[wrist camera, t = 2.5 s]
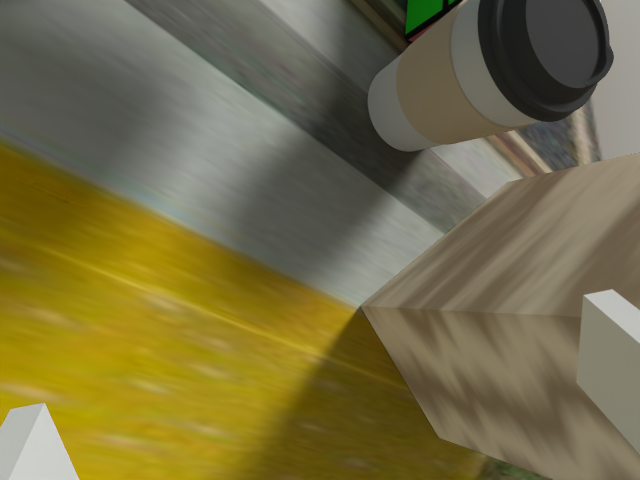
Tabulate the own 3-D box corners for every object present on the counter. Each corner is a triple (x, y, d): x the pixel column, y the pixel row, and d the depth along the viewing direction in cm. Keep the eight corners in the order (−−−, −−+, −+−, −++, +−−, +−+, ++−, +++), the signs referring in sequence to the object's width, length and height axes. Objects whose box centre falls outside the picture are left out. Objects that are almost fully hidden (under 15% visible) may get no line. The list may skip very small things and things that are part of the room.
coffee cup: (332, 104, 39) (487, 8, 26) (395, 26, 42) (561, -95, 29) (414, 190, 42) (591, 144, 29) (467, 110, 45) (649, 35, 32)
